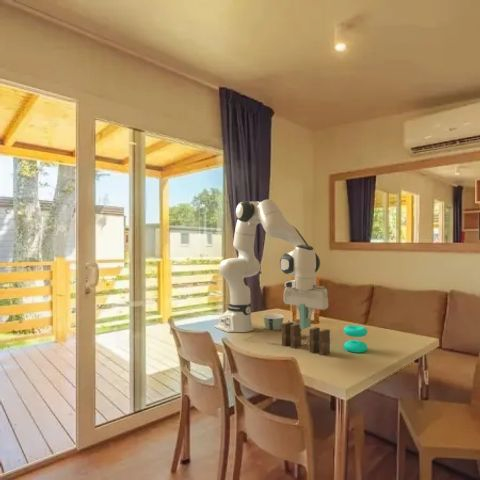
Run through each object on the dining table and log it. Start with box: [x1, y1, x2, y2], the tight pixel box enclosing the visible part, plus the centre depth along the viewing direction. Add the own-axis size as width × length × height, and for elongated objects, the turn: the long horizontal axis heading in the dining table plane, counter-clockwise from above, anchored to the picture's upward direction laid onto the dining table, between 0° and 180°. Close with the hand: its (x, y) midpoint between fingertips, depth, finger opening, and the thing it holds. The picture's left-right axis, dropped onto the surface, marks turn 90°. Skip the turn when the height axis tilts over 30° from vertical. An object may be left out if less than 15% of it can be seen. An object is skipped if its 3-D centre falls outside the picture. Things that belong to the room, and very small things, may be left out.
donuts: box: [343, 324, 369, 354], centre depth 162 cm, size 10×10×10 cm
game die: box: [287, 319, 303, 332], centre depth 185 cm, size 9×8×10 cm
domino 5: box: [319, 328, 331, 356], centre depth 157 cm, size 2×5×10 cm, turn 136°
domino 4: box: [308, 326, 321, 354], centre depth 161 cm, size 2×5×10 cm, turn 136°
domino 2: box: [290, 323, 302, 349], centre depth 168 cm, size 2×5×10 cm, turn 136°
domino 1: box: [281, 321, 292, 347], centre depth 171 cm, size 2×5×10 cm, turn 136°
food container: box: [262, 313, 285, 331], centre depth 204 cm, size 12×12×6 cm
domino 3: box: [299, 304, 312, 330], centre depth 153 cm, size 2×5×10 cm, turn 136°
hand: (305, 317), depth 153 cm, fingers closed on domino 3, 2 cm apart
